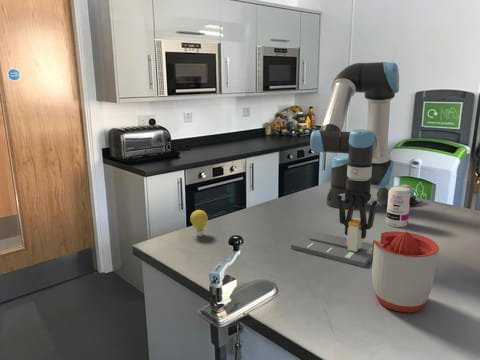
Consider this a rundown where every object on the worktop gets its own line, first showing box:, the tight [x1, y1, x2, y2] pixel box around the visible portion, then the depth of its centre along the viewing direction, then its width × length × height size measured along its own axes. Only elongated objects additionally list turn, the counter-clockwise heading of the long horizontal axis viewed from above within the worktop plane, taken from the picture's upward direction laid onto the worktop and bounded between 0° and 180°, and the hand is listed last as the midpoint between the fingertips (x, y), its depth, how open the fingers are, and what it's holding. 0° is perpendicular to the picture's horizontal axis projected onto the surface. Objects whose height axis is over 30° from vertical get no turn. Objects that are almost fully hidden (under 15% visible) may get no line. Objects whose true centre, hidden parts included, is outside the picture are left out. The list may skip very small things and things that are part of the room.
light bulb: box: [189, 209, 209, 237], centre depth 151 cm, size 7×7×10 cm
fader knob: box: [348, 217, 361, 252], centre depth 133 cm, size 5×3×10 cm, turn 145°
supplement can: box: [385, 185, 411, 229], centre depth 158 cm, size 8×8×15 cm
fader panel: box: [290, 229, 373, 268], centre depth 138 cm, size 16×26×2 cm, turn 55°
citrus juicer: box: [366, 230, 440, 314], centre depth 104 cm, size 16×17×20 cm
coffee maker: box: [376, 183, 418, 207], centre depth 185 cm, size 15×9×18 cm
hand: (354, 245), depth 134 cm, fingers closed on fader knob, 3 cm apart
